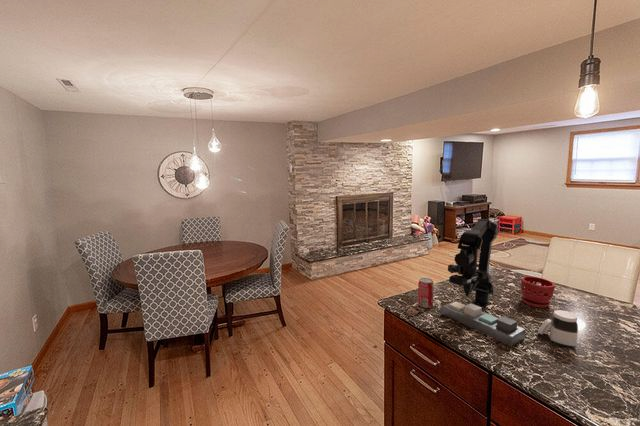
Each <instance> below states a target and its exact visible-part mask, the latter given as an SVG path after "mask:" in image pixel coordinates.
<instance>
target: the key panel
mask: <svg viewBox="0 0 640 426" xmlns="http://www.w3.org/2000/svg"><path fill="white" fill-rule="evenodd" d="M454 302H458V303H461V302H459V301H457V300H455V301H452V302H449V303H447V304H444V305H442V306H441V315H442V316H445V317H447V318H449V319H451V320H454V321H456V323H457V322H458V323H459V324H462V325H464V326H465V327H466V326H467V327H468V328H470V329H473V330H475V331H477V332H479V333H481V334H483V335H486V336H487V337H490V338H492V339H493V340H496V341H497V342H498V341H499V342H501V343H503V344H505V345H507V346H509V347H510V348H511V347H513V346H515V345H516V344H518V343H520V342H522V341H523V340H525V338H526V337H525V336H526V329H525V328H523V327H521V326H519V325H517V330H516V331H514V332H512V333H509V332H506V331H504V330H502V329H499V328H497V323H496V324H494V325H490V324H488V323H486V322H483V321H481V320H479V317H480V316H479V317H476V318H474V317H472V316H469V315H467V314H465V313H464V310H462V311H458V310H455V309H453V308H451V307H449V306H450V304H451V303H454ZM461 304H463V305H465V303H461ZM484 314H488V315H491V314H489V313H487V312H484V311H482V314H481V316H482V315H484ZM491 316H493V317H496V316H494V315H491ZM496 318H498V319H499V318H500V317H496Z"/></svg>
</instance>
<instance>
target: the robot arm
mask: <svg viewBox="0 0 640 426" xmlns="http://www.w3.org/2000/svg"><path fill="white" fill-rule="evenodd" d="M498 235H499V227H498V224H496V223H494V222H492V220H491V219H487V218H486V219H485V218H479V219H477V222H476V224H475V225H474V226H473V227H472V228H471V229H469V230H465V231H463V232H462V234H460V238H459V241H458V244H457V249H459V252H458V253H456V254H455V255H454V263H455V264H453V263H452V264H448V265H447V272H449V273H450V274H451V276H449V279H448V283H452V284H453V285H456V286H461V287H462V288H463V290H464V294H465V296H466V297H469V296H471V293H472V292H473V291H475V294H474V295H475V296H474V299H472V301H471V302H472V303H473V304H474V303H475V304H476V305H480V306H482V307H487V306H489V305H491V304H492V301H489V297H490V295H493V294H494V291H495V289H494V284H493V282H492V276H491V274H490V273H489V270H490V262H491V253H492V247H493V246H492V245H493V242H494V241H495V240H496V239H497V236H498ZM478 251H479V252H478ZM478 253H479V258H478ZM478 259H479V260H478ZM477 268H478V269H477ZM454 273H455V274H454ZM456 273H457V274H456Z"/></svg>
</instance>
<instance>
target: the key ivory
mask: <svg viewBox="0 0 640 426" xmlns="http://www.w3.org/2000/svg"><path fill="white" fill-rule="evenodd" d="M453 302H454V301H453ZM458 302H459V301H457V302H454V303H452V302H450V303H451V304H450V306H449V307H451V308H453V309H455V310H458V311H462V310H464V306H466V305H467V304H464V303H462V304H461V302H459V303H458ZM463 304H464V305H463Z"/></svg>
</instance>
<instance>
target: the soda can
mask: <svg viewBox="0 0 640 426" xmlns="http://www.w3.org/2000/svg"><path fill="white" fill-rule="evenodd" d="M417 286H418V287H417V289H418V291H417V292H418V293H417V304H418V305H419V307H421V308H424V309H431V308H432V307H434V293H435V292H434V290H435V284H434V280H433V279H431V278H429V277H428V278H427V277H421V278H419V281H418V285H417Z"/></svg>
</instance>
